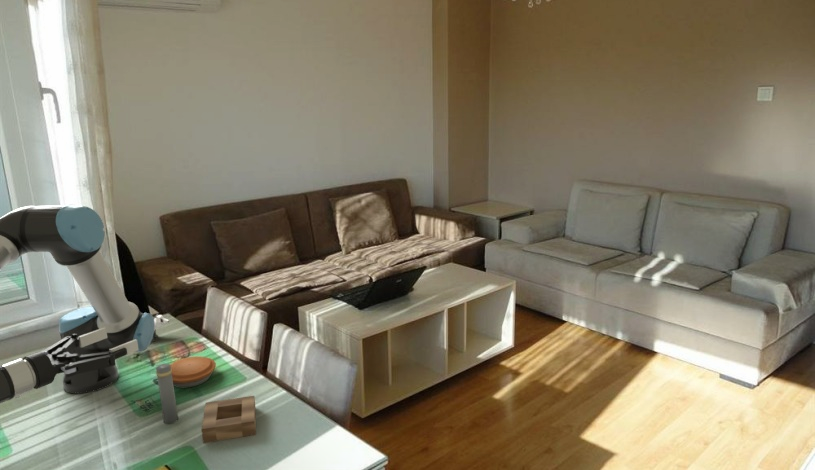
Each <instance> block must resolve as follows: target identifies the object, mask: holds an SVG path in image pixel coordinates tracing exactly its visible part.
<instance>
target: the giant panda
mask: <svg viewBox="0 0 815 470" xmlns="http://www.w3.org/2000/svg"><path fill="white" fill-rule="evenodd" d="M153 319H154V334H153V338H152V341H151V343H152V342H155V341H156V339H155V338H159V335H158V334H157V331H156V330H157V329H161V328H162V327H164V326H166V325H168V324H169V323H170V319H168V318H166V317H164V316H163V315H162V314H159V313H156V315H154V316H153Z"/></svg>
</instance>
